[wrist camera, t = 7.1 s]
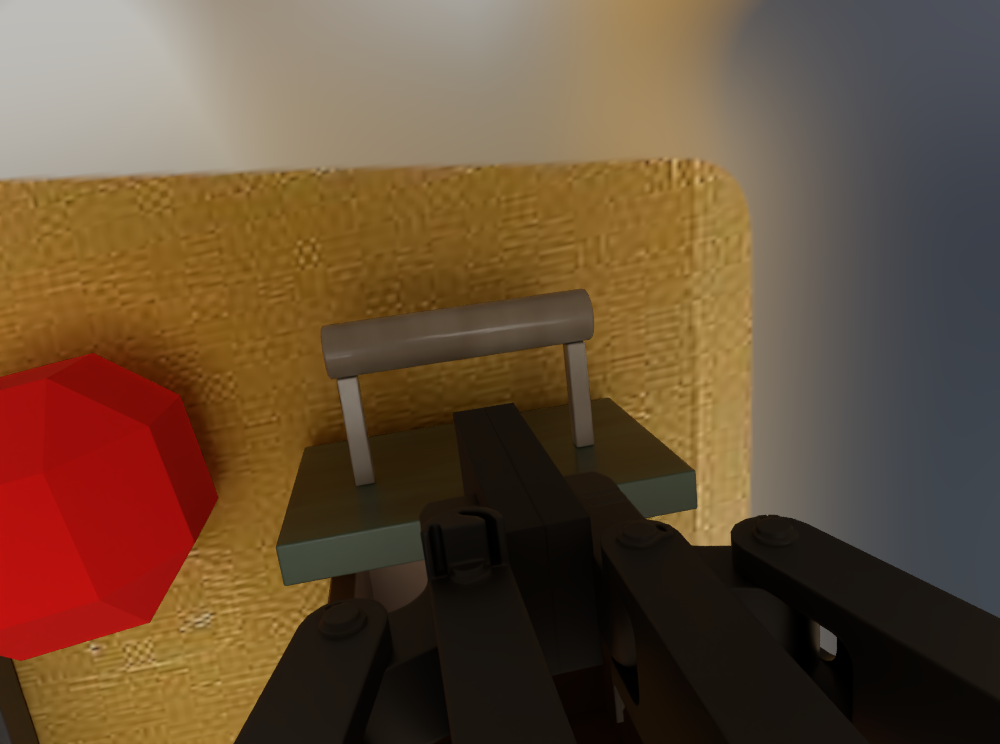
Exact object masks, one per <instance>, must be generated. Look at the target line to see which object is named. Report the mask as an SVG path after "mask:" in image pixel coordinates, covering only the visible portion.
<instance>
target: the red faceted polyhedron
mask: <svg viewBox="0 0 1000 744" xmlns="http://www.w3.org/2000/svg"><path fill="white" fill-rule="evenodd" d="M217 500H218V495H217V492H216V490H215V487H214V484H213V482H212V479H211V476H210V474H209V471H208V468H207V466H206V463H205V460H204V458H203V455H202V452H201V450H200V447H199V444H198V442H197V439H196V436H195V434H194V431H193V428H192V426H191V423H190V420H189V418H188V415H187V412H186V410H185V407H184V404H183V402H182V399H181V396H180V395H178V394H176V393H174V392H172V391H170V390H168V389H166V388H164V387H162V386H160V385H158V384H156V383H154V382H152V381H150V380H148V379H146V378H144V377H141V376H139V375H137V374H135V373H133V372H131V371H129V370H127V369H125V368H123V367H121V366H119V365H117V364H115V363H113V362H111V361H109V360H107V359H105V358H102V357H100V356H98V355H96V354H94V353H91V354H87V355H83V356H79V357H76V358H72V359H68V360H64V361H60V362H56V363H52V364H49V365H45V366H41V367H37V368H33V369H29V370H25V371H22V372H18V373H14V374H10V375H6V376H2V377H0V656H4V657H8V658H12V659H16V660H19V661H23V660H26V659H29V658H33V657H36V656H39V655H43V654H46V653H49V652H53V651H56V650H59V649H63V648H66V647H69V646H73V645H76V644H79V643H83V642H86V641H89V640H93V639H96V638H99V637H103V636H106V635H109V634H113V633H116V632H120V631H123V630H126V629H130V628H133V627H136V626H140V625H143V624H146V623H150V621H151V620H152V618H153V616H154V614H155V613H156V611H157V609H158V607H159V605H160V604H161V602H162V600H163V598H164V597H165V595H166V593H167V591H168V589H169V588H170V586H171V584H172V582H173V581H174V579H175V577H176V575H177V574H178V572H179V570H180V568H181V566H182V565H183V563H184V561H185V559H186V558H187V556H188V554H189V552H190V551H191V549H192V547H193V545H194V543H195V542H196V540H197V538H198V536H199V534H200V532H201V530H202V528H203V526H204V525H205V523H206V521H207V519H208V517H209V515H210V513H211V511H212V509H213V507H214V506H215V504H216V502H217Z"/></svg>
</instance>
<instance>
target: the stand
mask: <svg viewBox="0 0 1000 744" xmlns="http://www.w3.org/2000/svg"><path fill="white" fill-rule="evenodd" d="M0 744H38V741H37V738H36V735H35V732H34V729H33V725H32V722H31V719H30V716H29V713H28V710H27V707H26V704H25V701H24V698H23V695H22V692H21V689H20V686H19V683H18V680H17V677H16V674H15V671H14V668H13V665H12V662H11V659H10V658H8V657H4V656H0Z"/></svg>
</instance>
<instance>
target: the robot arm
mask: <svg viewBox="0 0 1000 744" xmlns="http://www.w3.org/2000/svg"><path fill="white" fill-rule="evenodd" d="M453 417H454V424H455V431H456V438H457V445H458V453H459V460H460V467H461V474H462V481H463V488H464V495H465V496H460V497H455V498H449V499H444V500H438V501H432V502H427V504H426V505H425V507H424V508H423V510H422V511H421V513H420V514H419V519H420V526H421V532H420V534H421V541H422V547H423V553H424V559H425V566H426V572H427V578H428V581H427V585H426V587H425V589H424V591H423V592H422V593H421V594H420V595H419V596H418V597H417V598H416V599H414V600H413V601H412V602H410V603H409V604H407V605H405V606H403V607H401V608H399V609H397V610H395V611H392V612H390V613H387V610H386V609H385V607H384V606H383V605H382V604H381V603H380V602H377V601H375V600H372V599H369V598H350V599H340V600H337V601H333V603H328V604H326V605H324V606H322V607H320V608H319V609H317V610H316V611H314V612H313V613H311V614H310V615H308V616H307V617H306V618H305V620H304V621H303V622H302V623H301V624H300V625H299V627H298V629H297V630H296V632H295V634H294V636H293V638H292V639H291V641H290V643H289V645H288V647H287V648H286V650H285V652H284V654H283V656H282V657H281V659H280V661H279V663H278V665H277V666H276V668H275V670H274V672H273V674H272V675H271V677H270V679H269V681H268V683H267V685H266V686H265V688H264V690H263V692H262V694H261V695H260V697H259V699H258V701H257V703H256V704H255V706H254V708H253V710H252V712H251V713H250V715H249V717H248V719H247V721H246V722H245V724H244V726H243V728H242V730H241V731H240V733H239V735H238V737H237V739H236V740H235V742H234V744H432V743H434V742H436V741H438V740H440V739H442V738H444V737H446V736H448V735H450V734H451V740H452V744H577V742H576V740H575V737H574V734H573V732H572V729H571V726H570V724H569V721H568V718H567V716H566V713H565V710H564V708H563V705H562V702H561V700H560V697H559V694H558V692H557V689H556V686H555V684H554V681H553V678H552V675H557V674H562V673H566V672H571V671H575V670H580V669H585V668H589V667H594V666H598V665H603V664H604V660H603V649H602V638H603V640H604V642H605V644H606V646H607V648H608V650H609V652H610V659H611V670H612V681H613V692H614V703H615V714H616V719H617V723H620V722H624V718H623V709H624V708H625V707H626V709H627V712H628V714H629V716H630V718H631V720H632V722H633V724H634V726H635V728H636V730H637V732H638V734H639V736H640V738H641V740H642V742H643V744H1000V618H998V617H996V616H994V615H992V614H990V613H988V612H986V611H984V610H982V609H980V608H978V607H976V606H974V605H971V604H970V603H968V602H965V601H964V600H962V599H959V598H957V597H955V596H953V595H951V594H949V593H947V592H945V591H943V590H941V589H939V588H937V587H935V586H933V585H931V584H929V583H927V582H925V581H923V580H920V579H919V578H917V577H914V576H913V575H910V574H909V573H907V572H905V571H902V570H900V569H898V568H896V567H894V566H892V565H890V564H888V563H886V562H884V561H882V560H880V559H878V558H876V557H874V556H871V555H870V554H868V553H866V552H864V551H862V550H860V549H858V548H855V547H853V546H852V545H849V544H847V543H845V542H843V541H841V540H839V539H837V538H835V537H833V536H831V535H829V534H827V533H825V532H823V531H821V530H819V529H817V528H815V527H813V526H811V525H809V524H807V523H804V522H801V521H798V520H796V519H793V518H787V517H780V516H778V515H768V516H767V515H759V516H757V517H753V518H748V519H745V520H743V521H741V522H739V523H737V524H735V526H734V527H733V529H732V530H731V546H692V545H690V544H689V542H688V541H687V540H686V539H685V538H684V537H683V536H682V535H681V534H680V533H679V531H678V530H676V529H675V528H673V527H672V526H670V525H669V524H665V523H662V522H659V521H654V520H646V519H645V518H644V517H643V515H642V514H641V513H640V512H639V511H638V510H637V508H636V507H635V506H634V505H633V504H632V502H631V501H630V500H628V499H627V496H626V495H625V494H624V493H623V492H622V491H620V488H619V487H618V486H617V485H616V483H615V482H614V481H613V480H612V479H611V478H610V477H607V476H605V475H603V474H600V473H598V472H596V471H589V472H584V473H578V474H572V475H567V476H562V474H561V473H560V471H559V470H558V468H557V467H556V465H555V464H554V462H553V461H552V459H551V458H550V456H549V455H548V454H547V452H546V451H545V449H544V448H543V446H542V445H541V443H540V442H539V440H538V439H537V437H536V436H535V434H534V433H533V431H532V430H531V428H530V427H529V425H528V424H527V422H526V421H525V419H524V418H523V417H522V415H521V414H520V412H519V411H518V409H517V408H516V406H515V405H514V403H508V404H502V405H496V406H490V407H484V408H478V409H472V410H465V411H459V412H453ZM820 625H821V626H822V627H824V628H826V629H827V630H829V631H830V632H832V633H833V634H834V635H835V636H836V637H837V653H836V656H835V655H832V654H830V653H828V652H827V651H825V650H824V649H822V648H821V647H820ZM601 636H602V638H601Z"/></svg>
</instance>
